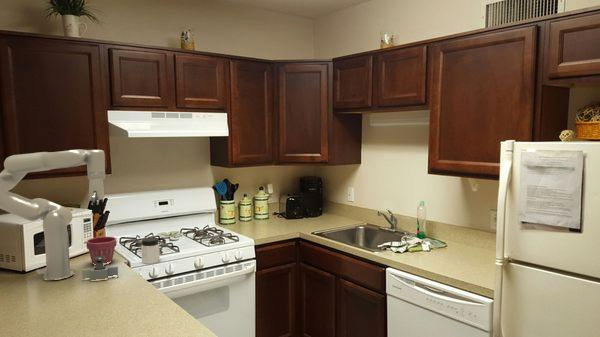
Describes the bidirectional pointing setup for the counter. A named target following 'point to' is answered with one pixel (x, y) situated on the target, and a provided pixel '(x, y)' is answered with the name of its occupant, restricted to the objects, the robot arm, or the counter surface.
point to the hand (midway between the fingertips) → (97, 211)
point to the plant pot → (102, 248)
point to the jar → (150, 250)
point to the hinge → (99, 272)
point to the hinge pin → (99, 262)
